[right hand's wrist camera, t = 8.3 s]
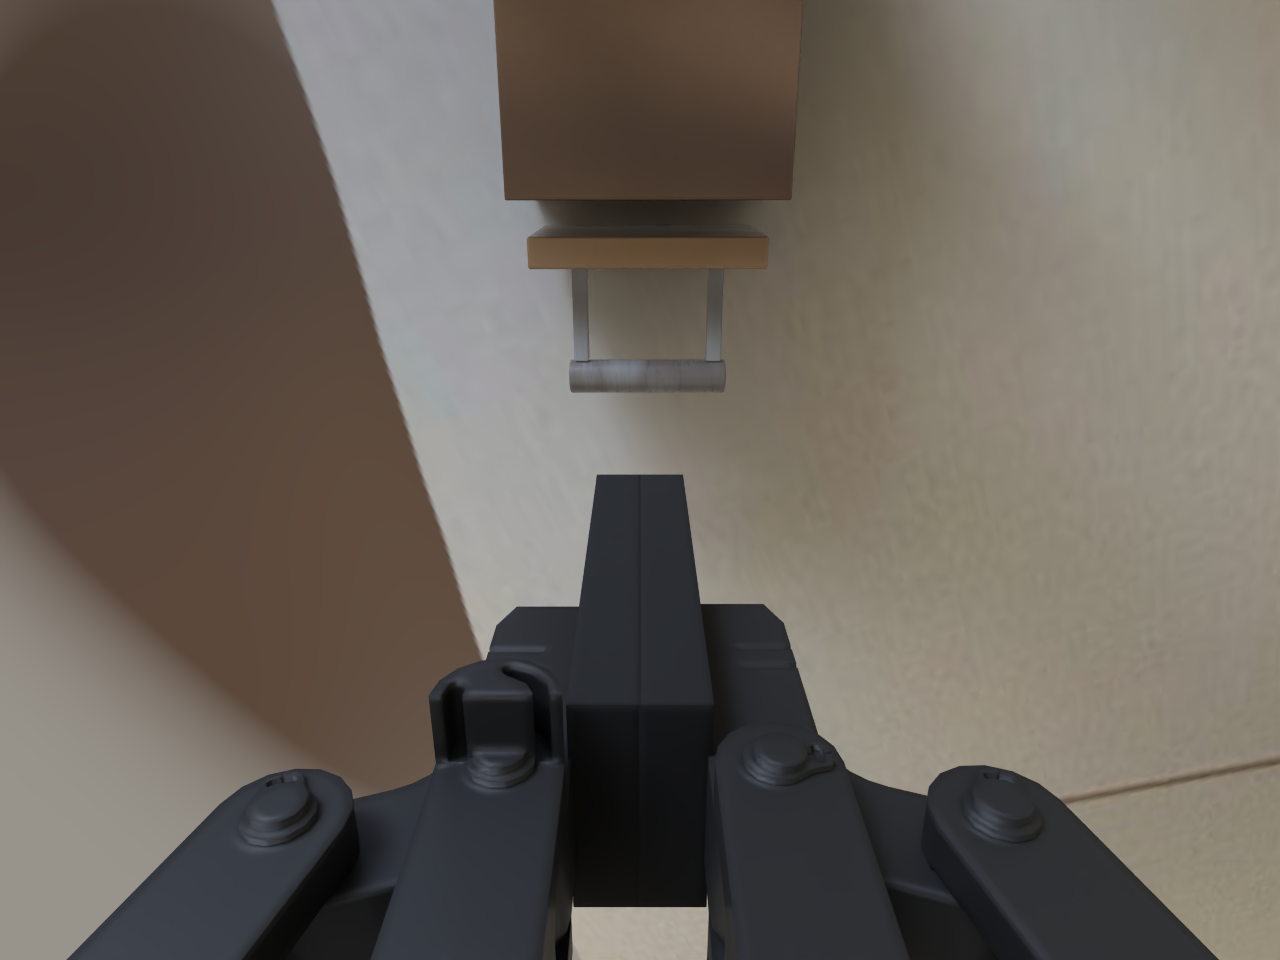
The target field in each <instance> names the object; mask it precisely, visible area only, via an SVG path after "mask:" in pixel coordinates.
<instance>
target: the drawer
mask: <svg viewBox="0 0 1280 960" xmlns="http://www.w3.org/2000/svg"><path fill="white" fill-rule="evenodd" d="M768 247H769V238H768V237H767V236H765V235H764V234H762V233H761V232H759V231H757V230H756V229H754V228H753V227H751V226H749V225H747V226H544V227H543V228H541V229H540V230H538V231H537V232H535V233H534V234H532V235H531V236H529V237H528V238H527V251H528V267H529V269H572V293H573V326H574V359H575V360H571V362H570V373H569V376H570V390H571V392H724V390H725V379H726V369H725V361H724V360H721V331H722V302H723V272H724V269H766V268H767V266H768ZM588 269H708V279H707V315H706V352H705V358H706V360H589V358H590V354H589V312H588Z"/></svg>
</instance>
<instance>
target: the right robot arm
mask: <svg viewBox="0 0 1280 960" xmlns="http://www.w3.org/2000/svg"><path fill="white" fill-rule="evenodd" d="M429 704H430V713H431V722H432V731H433V740H434V750H435V759H436V765H435V768H434V771H433V773H432V774H431V775H429V776H427V777H425V778H423V779H421V780H419V781H417V782H415V783H413V784H410V785H407V786H403V787H401V788H397V789H394V790H390V791H386V792H382V793H378V794H373V795H369V796H365V797H360V798H356V799H353V796H352V790H351V789H350V788H349V787H348V785H347V784H346V783H345V782H344V781H343V779H342V778H341V777H339V776H337V775H334V774H331V773H329V772H326V771H323V770H319V769H293V770H288V771H284V772H279V773H275V774H270V775H267V776H265V777H263V778H261V779H258V780H256V781H254V782H252V783H250V784H248V785H245V786H243V787H241V788H240V789H239V790H238V791H236V792H235V793H234V794H232V795H231V796H230V797H229V798H227V799H226V800H225V801H223V802H222V803H221V804H220V805H219V806H218V807H217V808H216V809H215V810H214V811H213V812H212V813H211V814H210V815H209V816H208V817H207V818H206V819H205V820H204V821H203V822H202V823H201V824H200V825H199V826H198V827H197V828H196V829H195V830H194V831H193V832H192V833H191V834H190V835H189V836H188V837H187V838H186V839H185V840H184V841H183V842H182V843H181V844H180V845H179V846H178V847H177V848H176V849H175V850H174V851H173V852H172V853H171V854H170V855H169V856H168V857H167V859H165V860H164V861H163V863H161V865H160V866H159V867H158V868H157V869H156V870H155V871H154V872H153V873H152V874H151V875H150V876H149V877H148V878H147V879H146V880H145V881H144V882H143V883H142V884H141V885H140V886H139V887H138V888H137V889H136V890H135V891H134V892H133V893H132V894H131V895H130V896H129V897H128V898H127V899H126V900H125V901H124V902H123V903H122V904H121V905H120V906H119V907H118V908H117V909H116V910H115V911H114V912H113V913H112V914H111V915H110V916H109V917H108V918H107V919H106V920H105V921H104V922H103V923H102V924H101V925H100V926H99V927H98V928H97V929H96V931H95V932H94V933H93V934H92V935H91V936H90V937H89V938H88V939H87V940H86V941H85V942H84V943H83V944H82V945H81V946H80V947H79V948H78V949H77V950H76V951H75V952H74V953H73V954H72V955H71V956H70V957H69V958H68V959H67V960H572V951H573V950H572V925H571V912H572V901H573V904H574V907H706V904H707V897H708V908H709V925H708V950H707V960H1219V959H1218V958H1217V957H1216V956H1215V955H1214V954H1213V953H1212V952H1211V951H1210V950H1209V949H1208V948H1207V947H1206V946H1205V945H1204V944H1203V943H1202V942H1201V941H1200V940H1199V939H1198V938H1197V937H1196V936H1195V935H1194V934H1193V933H1192V932H1191V931H1190V930H1189V929H1188V928H1187V927H1186V926H1185V925H1184V924H1183V923H1182V922H1181V921H1180V920H1179V919H1178V918H1177V917H1176V916H1175V915H1174V914H1173V913H1172V912H1171V911H1170V910H1169V909H1168V908H1167V907H1166V906H1165V905H1164V904H1163V903H1162V902H1161V901H1160V900H1159V899H1158V898H1157V897H1156V896H1155V895H1154V894H1153V893H1152V892H1151V891H1150V890H1149V889H1148V888H1147V887H1146V886H1145V885H1144V884H1143V883H1142V882H1141V881H1140V880H1139V879H1138V878H1137V877H1136V876H1135V875H1134V874H1133V873H1132V872H1131V871H1130V870H1129V869H1128V868H1127V867H1126V866H1125V865H1124V864H1123V863H1122V862H1121V861H1120V860H1119V859H1118V858H1117V857H1116V856H1115V855H1114V854H1113V853H1112V852H1111V851H1110V850H1109V849H1108V848H1107V846H1106V845H1105V844H1104V843H1103V842H1102V841H1101V840H1100V839H1099V838H1098V837H1097V836H1096V835H1095V834H1094V833H1093V832H1092V831H1091V830H1090V829H1089V828H1088V827H1087V826H1086V825H1085V824H1084V823H1083V822H1082V821H1081V820H1080V819H1079V818H1078V817H1077V816H1076V815H1075V814H1074V813H1073V812H1072V811H1071V810H1070V809H1069V808H1068V807H1067V806H1066V805H1065V804H1064V803H1063V802H1062V801H1061V800H1060V799H1058V798H1057V797H1056V796H1054V795H1053V794H1052V793H1050V792H1049V791H1048V790H1047V789H1045V788H1044V787H1043V786H1041V785H1040V784H1039V783H1037V782H1034V781H1032V780H1030V779H1028V778H1026V777H1023V776H1021V775H1019V774H1017V773H1015V772H1013V771H1008V770H1004V769H999V768H995V767H990V766H986V765H978V766H958V767H956V768H953V769H950V770H948V771H945V772H943V773H940V774H939V775H938V777H937V778H936V779H935V780H934V781H933V783H932V784H931V785H930V786H929V790H928V796H926V795H922V794H917V793H913V792H909V791H904V790H900V789H896V788H891V787H887V786H884V785H881V784H878V783H875V782H872V781H868V780H866V779H864V778H862V777H860V776H858V775H856V774H854V773H852V772H850V771H849V770H847V769H846V767H845V764H844V761H843V760H842V758H841V757H840V755H839V754H838V752H837V750H836V749H835V747H834V746H833V745H832V744H830V743H829V742H828V741H826V740H825V739H824V738H822V737H821V736H820V735H818V732H817V729H816V726H815V723H814V720H813V716H812V713H811V710H810V707H809V703H808V700H807V697H806V694H805V690H804V687H803V684H802V681H801V678H800V674H799V671H798V668H796V661H795V658H794V655H793V652H792V649H791V648H790V642H789V639H788V636H787V632H786V629H785V626H784V623H783V622H782V621H781V620H780V619H779V618H778V617H777V616H775V615H774V614H773V613H772V612H771V611H770V610H769V609H768V608H767V607H766V606H765V605H764V604H700V597H699V590H698V582H697V575H696V568H695V560H694V553H693V546H692V538H691V531H690V523H689V516H688V509H687V501H686V494H685V487H684V479H683V475H597V479H596V487H595V494H594V501H593V509H592V516H591V523H590V531H589V538H588V546H587V553H586V560H585V568H584V575H583V582H582V590H581V597H580V604H579V607H516V608H515V609H514V610H513V611H512V612H511V613H510V614H509V615H507V616H506V617H505V618H504V619H503V620H502V621H501V622H500V623H499V624H498V625H497V626H496V629H495V632H494V636H493V639H492V642H491V645H490V652H488V655H487V658H486V660H484V661H479V662H476V663H473V664H470V665H467V666H464V667H461V668H458V669H456V670H455V671H453V672H452V673H450V674H449V675H447V676H446V677H444V678H443V679H441V680H440V681H439V682H438V683H437V685H436V686H435V687H434V689H433V690H432V692H431V693H430V694H429Z"/></svg>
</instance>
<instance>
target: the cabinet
mask: <svg viewBox="0 0 1280 960" xmlns="http://www.w3.org/2000/svg"><path fill="white" fill-rule="evenodd" d="M802 15H803V0H494V17H495V34H496V52H497V69H498V87H499V104H500V122H501V140H502V157H503V175H504V192H505V200H791V197H792V180H793V164H794V147H795V131H796V114H797V98H798V81H799V65H800V48H801V32H802Z"/></svg>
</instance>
